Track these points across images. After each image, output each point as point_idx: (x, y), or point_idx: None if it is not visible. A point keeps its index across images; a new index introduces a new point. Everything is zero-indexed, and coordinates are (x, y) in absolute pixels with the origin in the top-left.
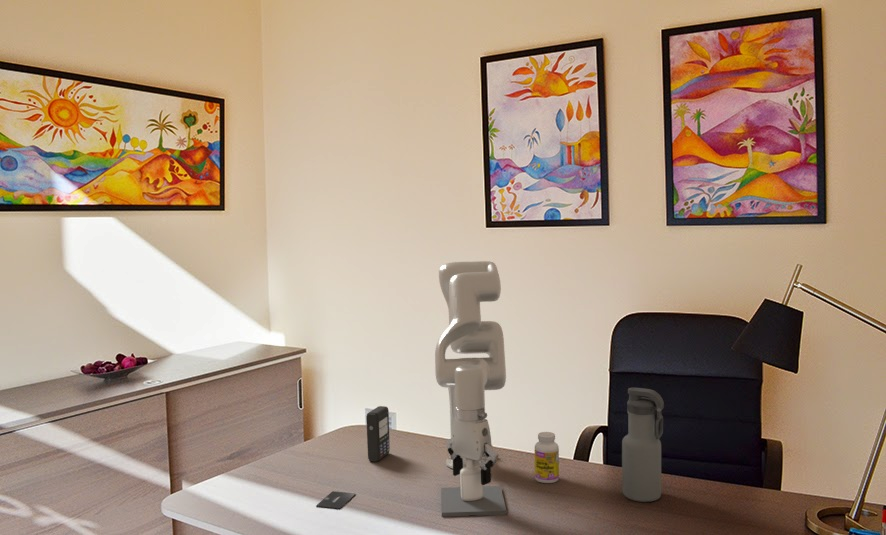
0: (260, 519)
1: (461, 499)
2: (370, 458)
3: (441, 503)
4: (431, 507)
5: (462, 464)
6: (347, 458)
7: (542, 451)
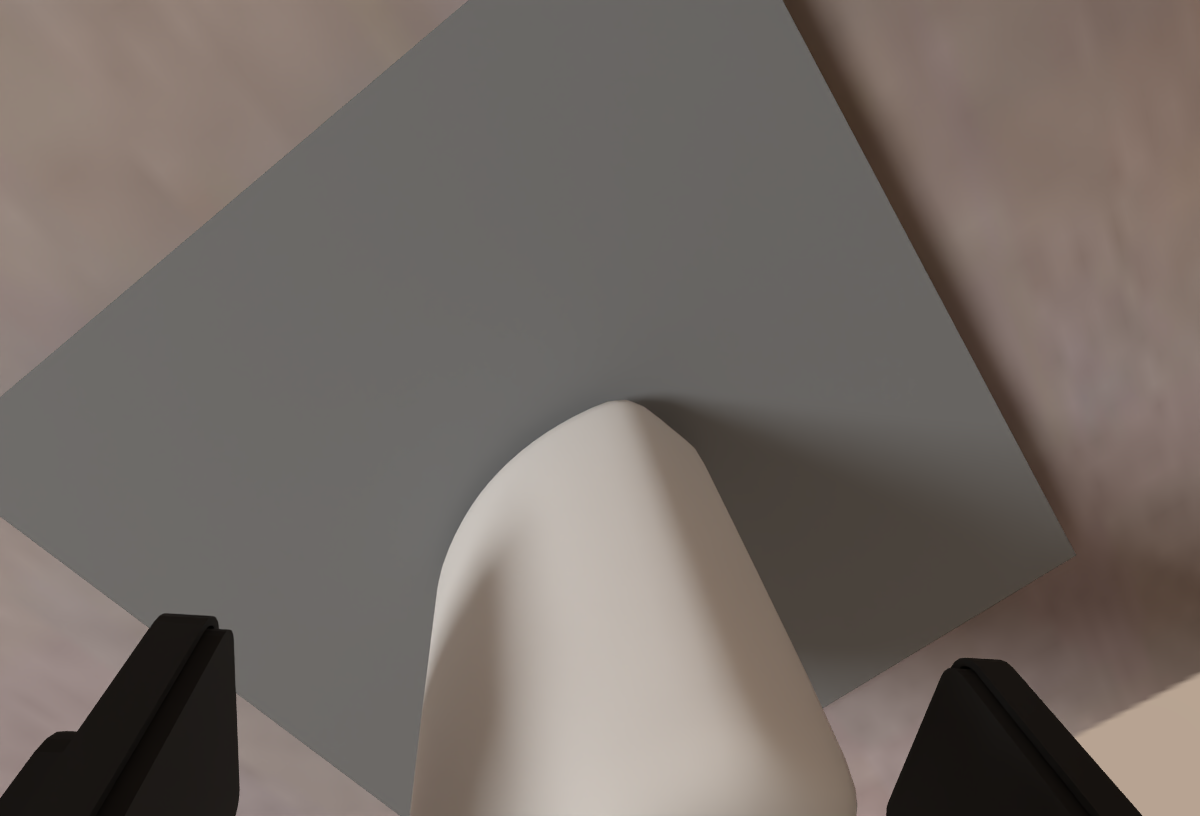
0: None
1: None
2: None
3: (352, 778)
4: (277, 791)
5: (140, 806)
6: None
7: None
